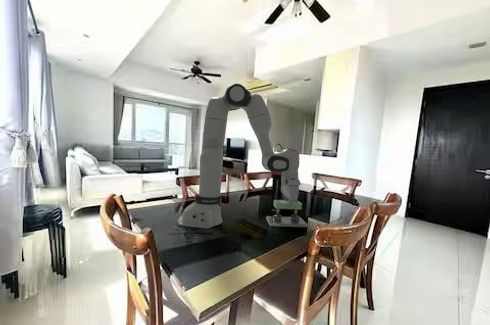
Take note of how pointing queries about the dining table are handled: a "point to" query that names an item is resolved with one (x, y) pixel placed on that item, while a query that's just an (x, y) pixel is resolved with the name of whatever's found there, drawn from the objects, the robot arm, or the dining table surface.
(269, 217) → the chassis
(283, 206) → the board
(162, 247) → the dining table surface
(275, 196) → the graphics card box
